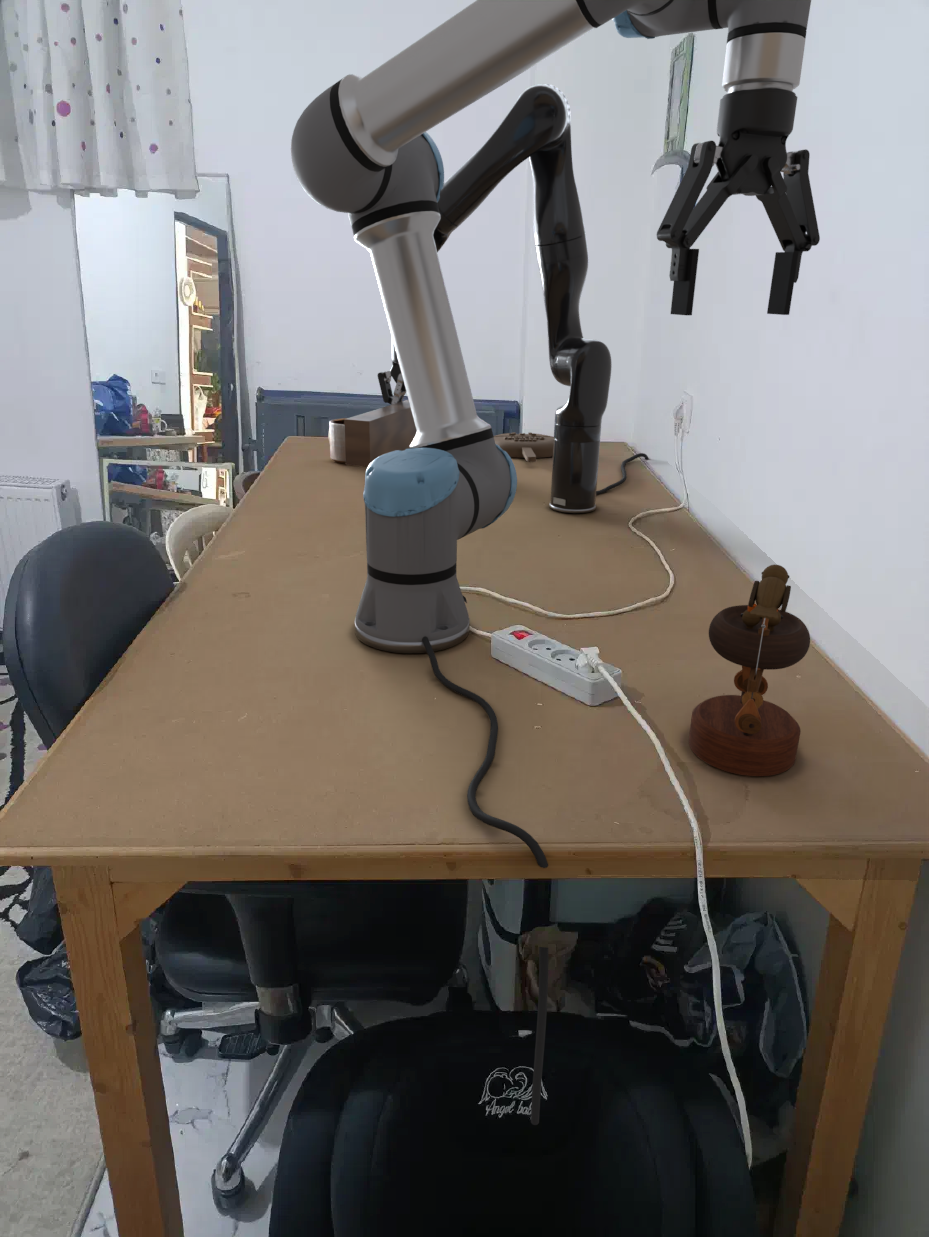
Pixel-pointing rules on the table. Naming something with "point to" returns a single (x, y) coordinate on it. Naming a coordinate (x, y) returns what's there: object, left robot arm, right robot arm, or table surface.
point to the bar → (378, 433)
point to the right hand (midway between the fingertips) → (411, 425)
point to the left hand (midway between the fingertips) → (730, 315)
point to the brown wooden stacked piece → (752, 684)
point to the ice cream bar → (526, 445)
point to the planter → (337, 440)
